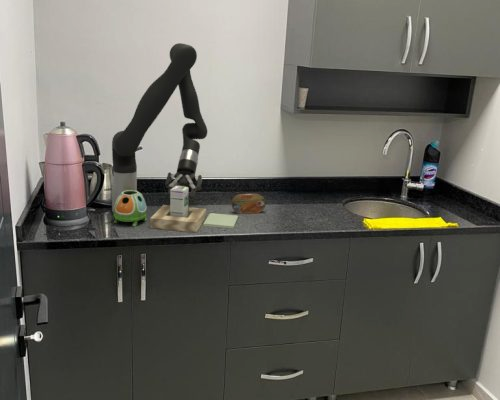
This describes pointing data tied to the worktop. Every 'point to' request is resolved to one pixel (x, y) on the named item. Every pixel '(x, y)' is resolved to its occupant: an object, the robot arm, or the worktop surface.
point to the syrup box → (179, 201)
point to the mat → (221, 220)
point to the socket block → (178, 219)
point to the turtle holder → (130, 207)
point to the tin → (248, 203)
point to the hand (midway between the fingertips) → (180, 197)
